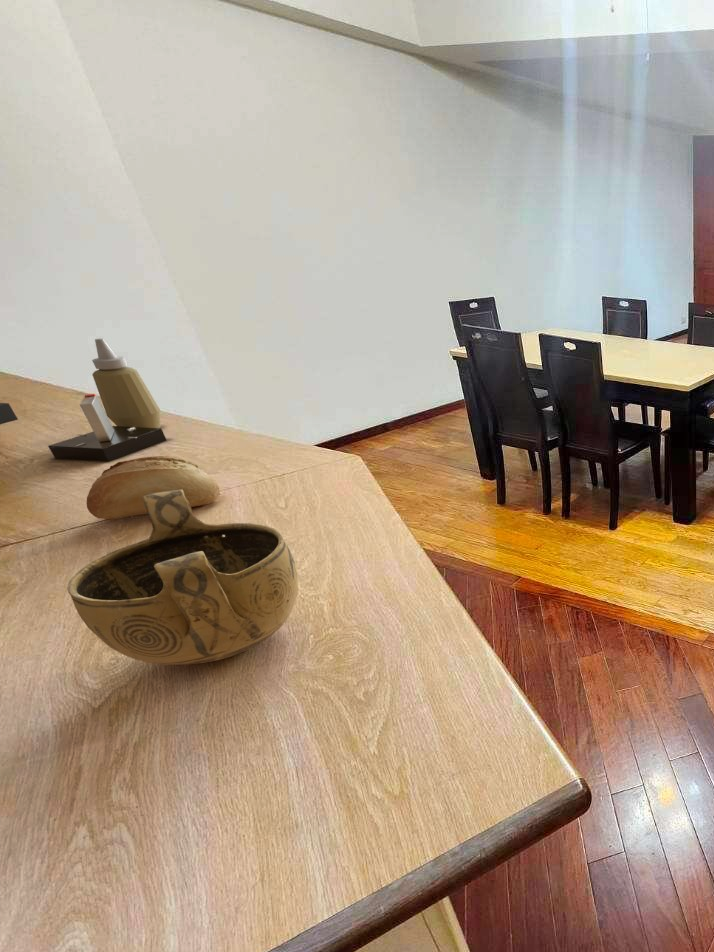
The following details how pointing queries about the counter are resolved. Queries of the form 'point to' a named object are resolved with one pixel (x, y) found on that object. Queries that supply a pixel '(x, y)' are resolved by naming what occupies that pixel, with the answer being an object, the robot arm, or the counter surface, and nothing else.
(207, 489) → the bread roll
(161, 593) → the ceramic bowl
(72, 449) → the panel
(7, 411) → the robot arm
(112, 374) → the squeeze bottle
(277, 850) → the counter surface
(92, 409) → the red-tipped white tile
